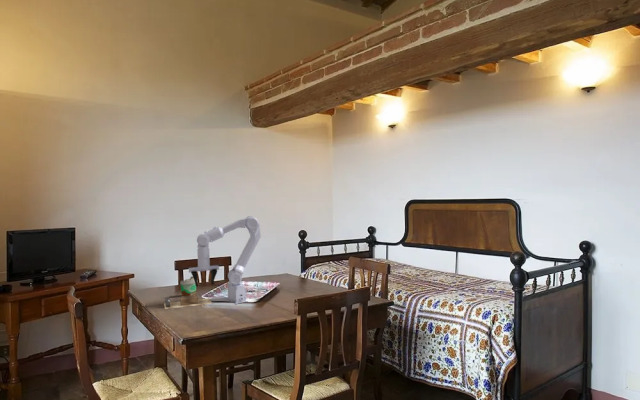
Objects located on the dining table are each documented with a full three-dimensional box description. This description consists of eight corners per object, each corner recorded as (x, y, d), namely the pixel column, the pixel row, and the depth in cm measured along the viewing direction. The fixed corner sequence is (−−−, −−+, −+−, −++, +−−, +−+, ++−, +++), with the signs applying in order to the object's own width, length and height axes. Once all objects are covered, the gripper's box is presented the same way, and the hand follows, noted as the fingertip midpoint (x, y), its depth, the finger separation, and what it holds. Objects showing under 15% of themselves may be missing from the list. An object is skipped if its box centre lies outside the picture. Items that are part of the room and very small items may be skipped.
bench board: (209, 301, 234) (209, 298, 234) (212, 306, 223) (212, 303, 223) (163, 306, 225) (163, 303, 225) (165, 312, 214) (165, 309, 214)
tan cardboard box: (196, 300, 228) (196, 294, 228) (198, 303, 223) (198, 297, 223) (180, 302, 225) (179, 296, 225) (181, 305, 220) (181, 299, 220)
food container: (191, 300, 237) (190, 281, 236) (180, 300, 238) (179, 280, 238) (202, 294, 249) (201, 276, 248) (191, 294, 250) (191, 276, 250)
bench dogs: (169, 304, 224) (169, 296, 224) (170, 306, 218) (170, 299, 218) (165, 304, 223) (164, 297, 223) (165, 307, 217) (165, 300, 217)
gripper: (216, 255, 233) (217, 282, 234) (187, 258, 228) (188, 285, 228) (219, 257, 227) (220, 284, 227) (189, 260, 221) (190, 288, 221)
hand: (204, 285), depth 227 cm, fingers open, 7 cm apart
